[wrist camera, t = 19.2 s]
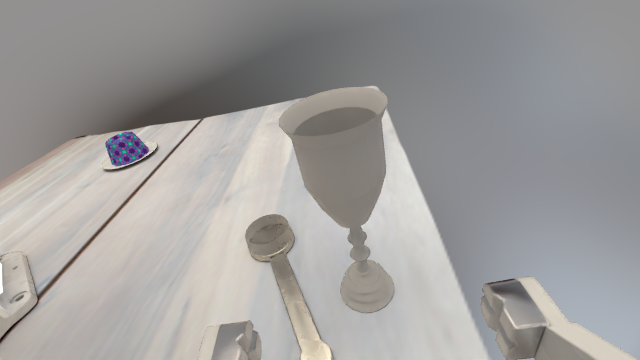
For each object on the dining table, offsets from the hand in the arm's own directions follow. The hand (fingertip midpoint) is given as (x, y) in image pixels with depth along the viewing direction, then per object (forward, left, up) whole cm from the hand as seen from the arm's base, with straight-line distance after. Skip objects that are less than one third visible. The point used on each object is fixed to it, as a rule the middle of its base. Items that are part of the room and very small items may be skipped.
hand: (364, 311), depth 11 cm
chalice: (-10, +7, -15) cm, 19 cm away
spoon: (-17, +2, -15) cm, 22 cm away
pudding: (-72, -6, -15) cm, 74 cm away
